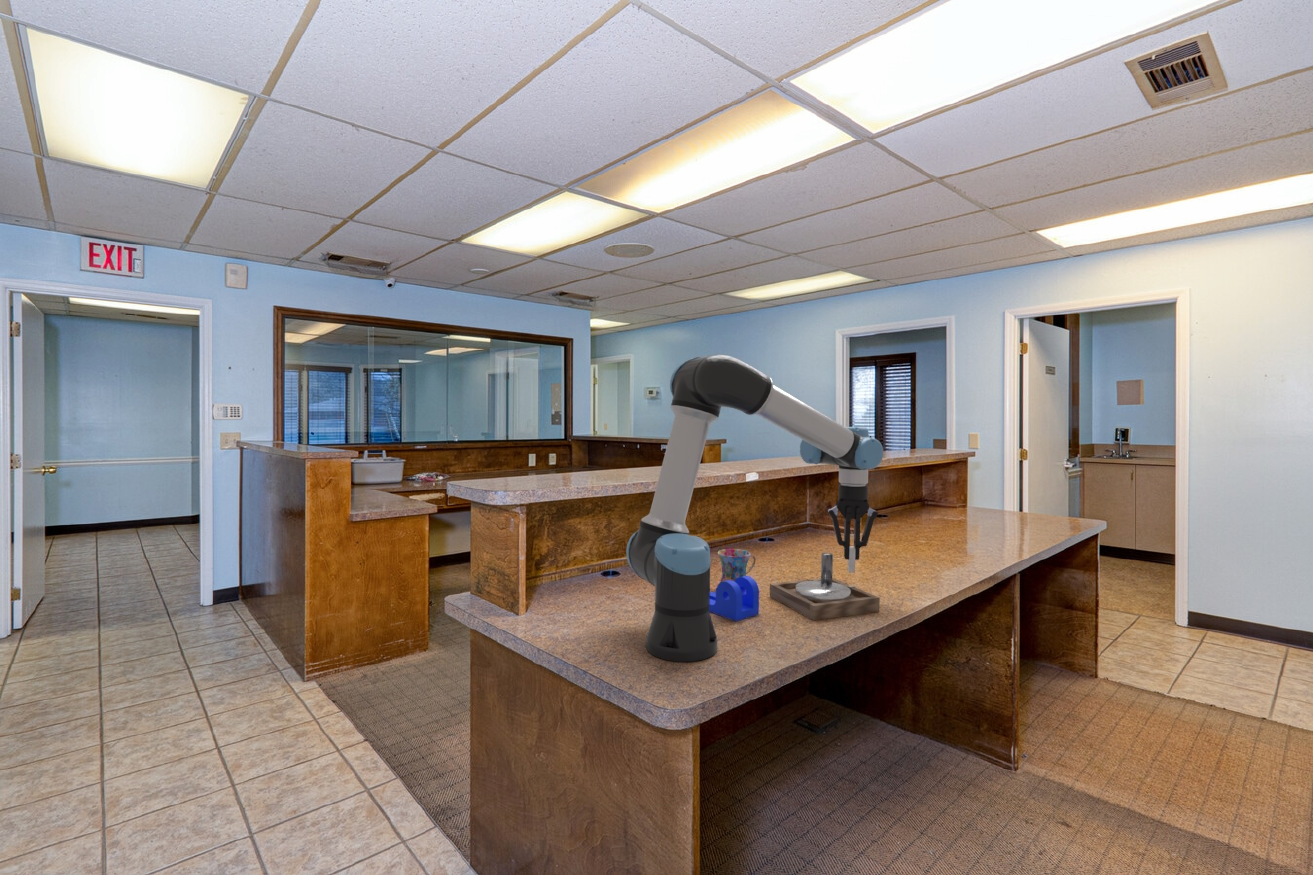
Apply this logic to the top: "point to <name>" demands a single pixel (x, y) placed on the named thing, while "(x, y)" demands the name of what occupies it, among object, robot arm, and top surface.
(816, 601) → the dial
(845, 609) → the dial panel
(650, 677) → the top surface
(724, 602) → the bracket
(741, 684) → the top surface
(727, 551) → the mug
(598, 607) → the top surface
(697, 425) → the robot arm
